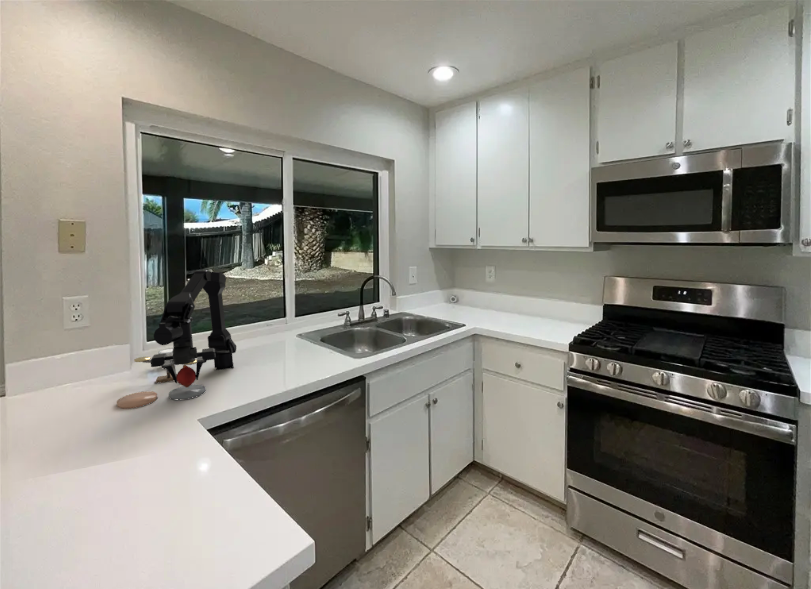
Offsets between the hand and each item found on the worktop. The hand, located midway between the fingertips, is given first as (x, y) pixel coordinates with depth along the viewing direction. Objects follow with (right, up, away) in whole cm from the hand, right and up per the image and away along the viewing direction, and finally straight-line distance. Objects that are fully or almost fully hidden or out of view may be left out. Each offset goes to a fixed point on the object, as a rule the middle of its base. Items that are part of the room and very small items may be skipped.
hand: (186, 381), depth 134 cm
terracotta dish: (-13, -5, -5) cm, 15 cm away
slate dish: (0, -4, +1) cm, 4 cm away
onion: (0, -2, 0) cm, 2 cm away
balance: (-14, -3, +14) cm, 20 cm away
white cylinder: (-24, -1, +29) cm, 37 cm away
